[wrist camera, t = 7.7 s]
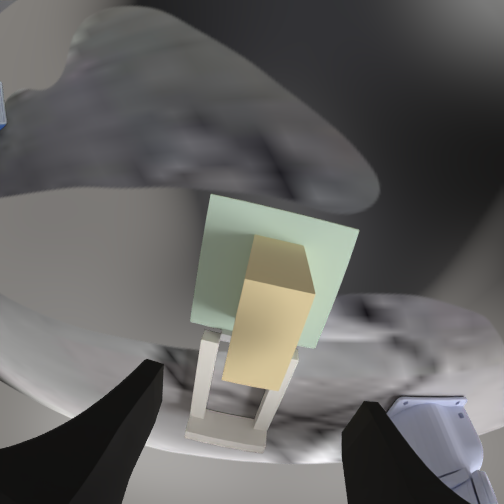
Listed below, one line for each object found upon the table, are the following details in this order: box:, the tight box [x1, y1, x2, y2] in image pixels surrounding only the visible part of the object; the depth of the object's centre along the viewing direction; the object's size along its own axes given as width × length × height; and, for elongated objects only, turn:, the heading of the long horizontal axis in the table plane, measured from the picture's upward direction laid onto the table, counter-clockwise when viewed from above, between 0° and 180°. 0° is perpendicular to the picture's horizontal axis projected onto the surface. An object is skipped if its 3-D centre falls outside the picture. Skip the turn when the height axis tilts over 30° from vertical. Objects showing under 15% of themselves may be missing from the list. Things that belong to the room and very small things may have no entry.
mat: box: [190, 194, 359, 349], centre depth 19 cm, size 9×9×1 cm
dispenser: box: [185, 329, 299, 453], centre depth 21 cm, size 7×11×3 cm, turn 167°
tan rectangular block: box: [222, 235, 316, 391], centre depth 16 cm, size 3×6×6 cm, turn 168°
